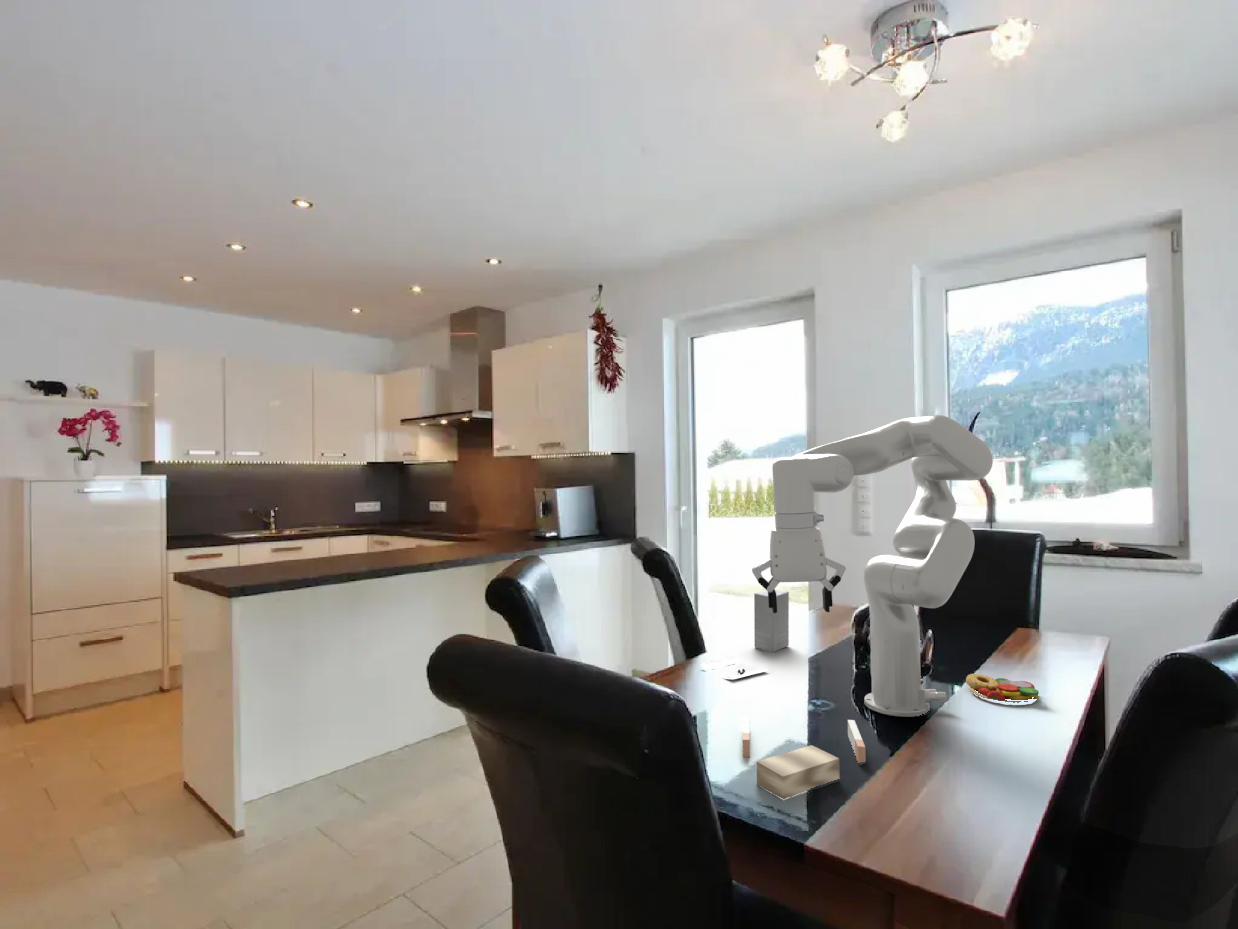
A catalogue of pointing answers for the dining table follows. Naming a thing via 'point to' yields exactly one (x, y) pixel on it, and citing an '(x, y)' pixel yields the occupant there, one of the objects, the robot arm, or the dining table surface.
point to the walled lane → (852, 734)
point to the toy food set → (1001, 688)
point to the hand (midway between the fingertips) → (800, 611)
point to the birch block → (797, 771)
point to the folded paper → (727, 661)
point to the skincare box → (771, 621)
